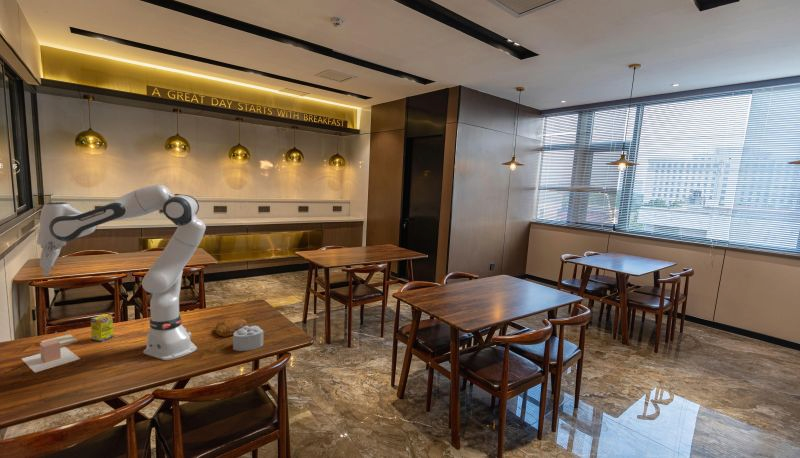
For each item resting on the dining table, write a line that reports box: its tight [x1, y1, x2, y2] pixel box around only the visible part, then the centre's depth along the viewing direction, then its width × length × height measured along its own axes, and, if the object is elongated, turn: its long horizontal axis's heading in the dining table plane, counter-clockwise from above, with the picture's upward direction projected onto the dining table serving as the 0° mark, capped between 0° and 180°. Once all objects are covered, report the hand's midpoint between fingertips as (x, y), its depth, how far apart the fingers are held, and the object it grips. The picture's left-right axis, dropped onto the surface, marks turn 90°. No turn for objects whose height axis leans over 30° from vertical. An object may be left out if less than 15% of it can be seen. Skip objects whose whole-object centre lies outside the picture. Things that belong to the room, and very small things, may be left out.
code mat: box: [21, 346, 81, 373], centre depth 153 cm, size 18×14×1 cm
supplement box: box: [90, 313, 114, 343], centre depth 172 cm, size 6×6×11 cm
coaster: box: [40, 333, 78, 347], centre depth 167 cm, size 10×10×1 cm
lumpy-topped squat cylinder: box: [232, 325, 264, 352], centre depth 173 cm, size 10×13×9 cm
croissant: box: [214, 316, 248, 338], centre depth 188 cm, size 14×16×8 cm
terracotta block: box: [39, 339, 61, 363], centre depth 152 cm, size 5×5×7 cm
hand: (48, 271), depth 152 cm, fingers open, 8 cm apart
